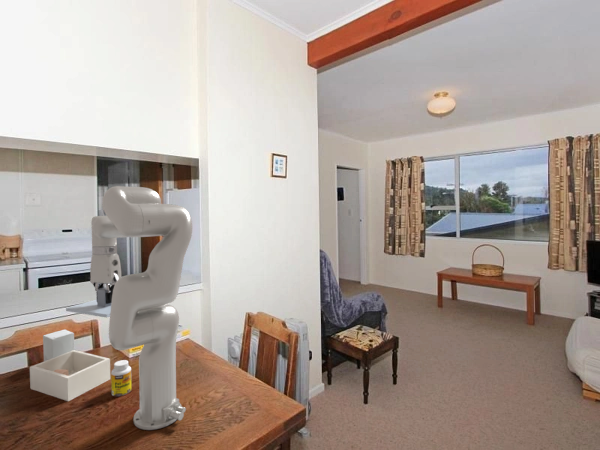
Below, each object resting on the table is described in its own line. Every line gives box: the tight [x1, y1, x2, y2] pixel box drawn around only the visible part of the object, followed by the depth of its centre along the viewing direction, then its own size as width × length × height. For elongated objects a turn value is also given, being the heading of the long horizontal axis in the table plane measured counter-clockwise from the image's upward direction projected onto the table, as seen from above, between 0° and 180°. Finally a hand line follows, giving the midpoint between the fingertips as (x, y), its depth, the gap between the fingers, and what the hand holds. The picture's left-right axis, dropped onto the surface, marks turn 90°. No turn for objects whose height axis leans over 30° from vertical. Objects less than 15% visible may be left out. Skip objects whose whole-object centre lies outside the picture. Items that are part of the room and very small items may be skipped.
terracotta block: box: [53, 369, 68, 376], centre depth 109 cm, size 4×4×4 cm
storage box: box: [29, 349, 111, 402], centre depth 109 cm, size 18×14×8 cm
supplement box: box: [42, 329, 75, 362], centre depth 122 cm, size 7×7×13 cm
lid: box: [65, 286, 111, 319], centre depth 119 cm, size 19×15×7 cm
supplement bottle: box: [110, 359, 132, 397], centre depth 105 cm, size 6×6×10 cm
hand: (105, 301), depth 119 cm, fingers closed on lid, 3 cm apart
